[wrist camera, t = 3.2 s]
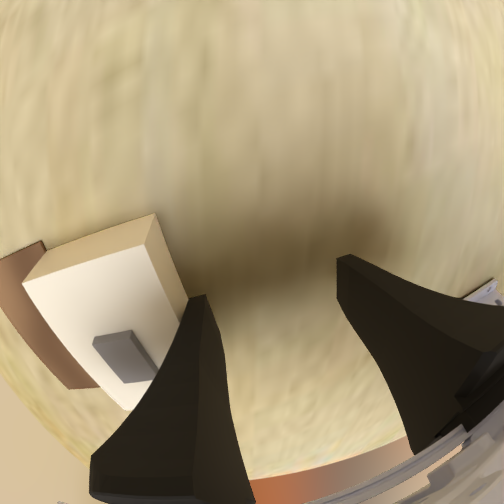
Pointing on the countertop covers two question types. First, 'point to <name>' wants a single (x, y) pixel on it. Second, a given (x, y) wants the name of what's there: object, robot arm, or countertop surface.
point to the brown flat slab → (37, 319)
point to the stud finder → (113, 304)
